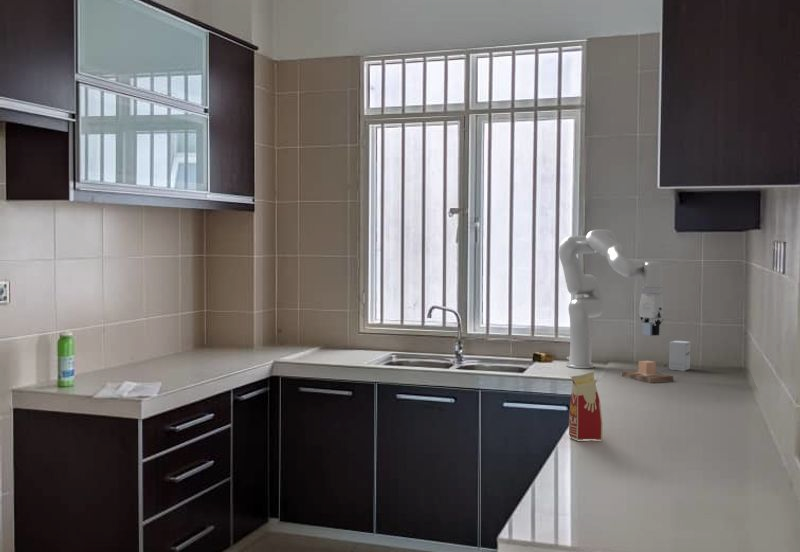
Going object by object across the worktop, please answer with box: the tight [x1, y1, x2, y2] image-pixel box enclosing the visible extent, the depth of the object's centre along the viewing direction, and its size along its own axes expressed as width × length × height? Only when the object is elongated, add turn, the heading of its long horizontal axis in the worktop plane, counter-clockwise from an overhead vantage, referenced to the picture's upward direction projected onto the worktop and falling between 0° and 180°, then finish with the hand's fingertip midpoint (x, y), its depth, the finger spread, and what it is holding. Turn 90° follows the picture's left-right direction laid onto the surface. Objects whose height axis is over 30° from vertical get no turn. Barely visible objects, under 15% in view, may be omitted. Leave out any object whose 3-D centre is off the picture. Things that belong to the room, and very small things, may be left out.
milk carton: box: [568, 370, 604, 441], centre depth 240 cm, size 9×9×20 cm
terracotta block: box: [637, 360, 657, 375], centre depth 343 cm, size 5×5×5 cm
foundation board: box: [621, 369, 674, 384], centre depth 343 cm, size 18×12×2 cm, turn 23°
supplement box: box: [668, 340, 691, 372], centre depth 367 cm, size 7×7×13 cm
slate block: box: [641, 321, 661, 337], centre depth 342 cm, size 5×5×5 cm
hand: (650, 333), depth 342 cm, fingers closed on slate block, 5 cm apart
